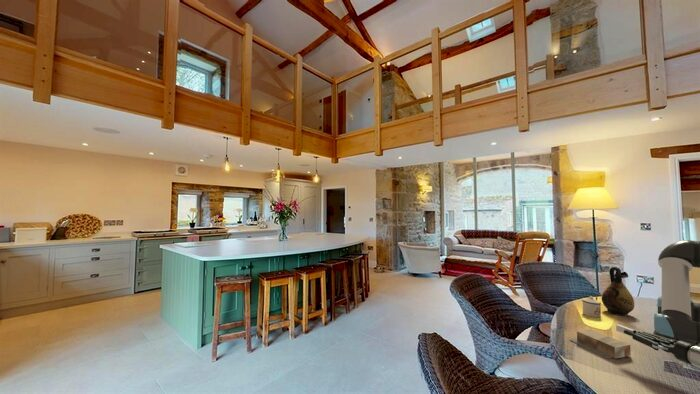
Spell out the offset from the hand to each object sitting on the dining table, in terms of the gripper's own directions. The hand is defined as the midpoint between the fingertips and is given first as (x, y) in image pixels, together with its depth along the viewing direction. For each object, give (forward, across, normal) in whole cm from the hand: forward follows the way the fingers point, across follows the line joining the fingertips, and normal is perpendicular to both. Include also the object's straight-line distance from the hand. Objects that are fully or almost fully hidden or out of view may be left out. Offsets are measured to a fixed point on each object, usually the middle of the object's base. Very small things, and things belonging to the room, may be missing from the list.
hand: (617, 327), depth 124 cm
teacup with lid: (+39, +45, -13) cm, 61 cm away
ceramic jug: (+38, +64, -13) cm, 76 cm away
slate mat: (+8, 0, -13) cm, 15 cm away
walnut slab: (-2, 0, -10) cm, 10 cm away
